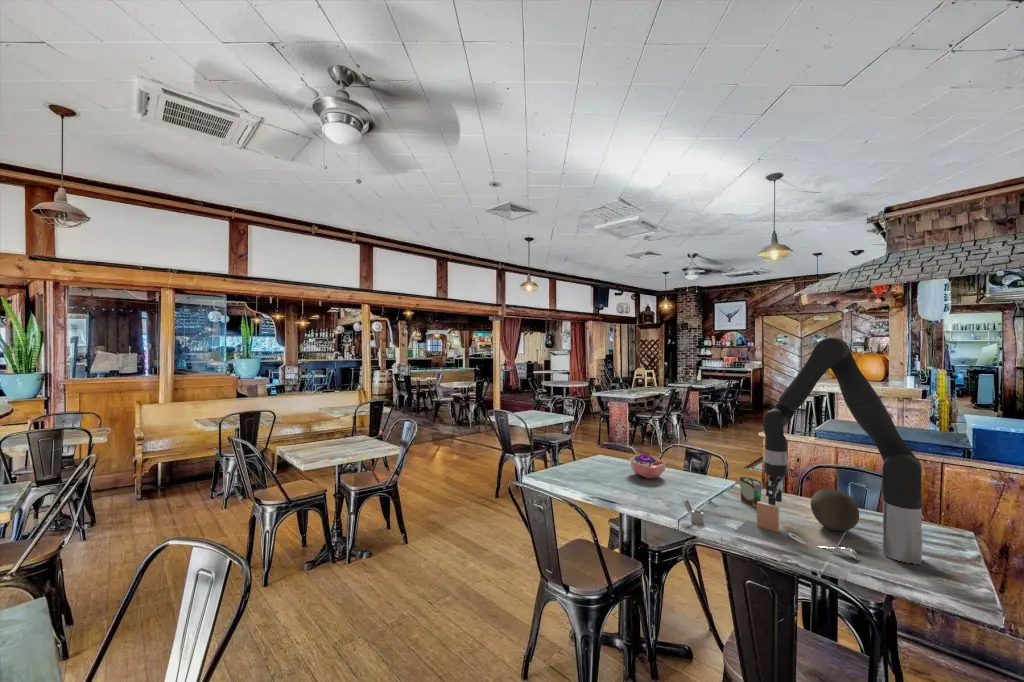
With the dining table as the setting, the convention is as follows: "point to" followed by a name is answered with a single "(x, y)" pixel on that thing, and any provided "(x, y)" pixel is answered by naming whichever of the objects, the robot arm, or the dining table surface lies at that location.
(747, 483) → the food container
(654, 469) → the cell model
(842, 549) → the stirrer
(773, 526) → the tile
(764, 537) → the mat
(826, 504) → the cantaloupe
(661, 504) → the dining table surface
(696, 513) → the lighter
